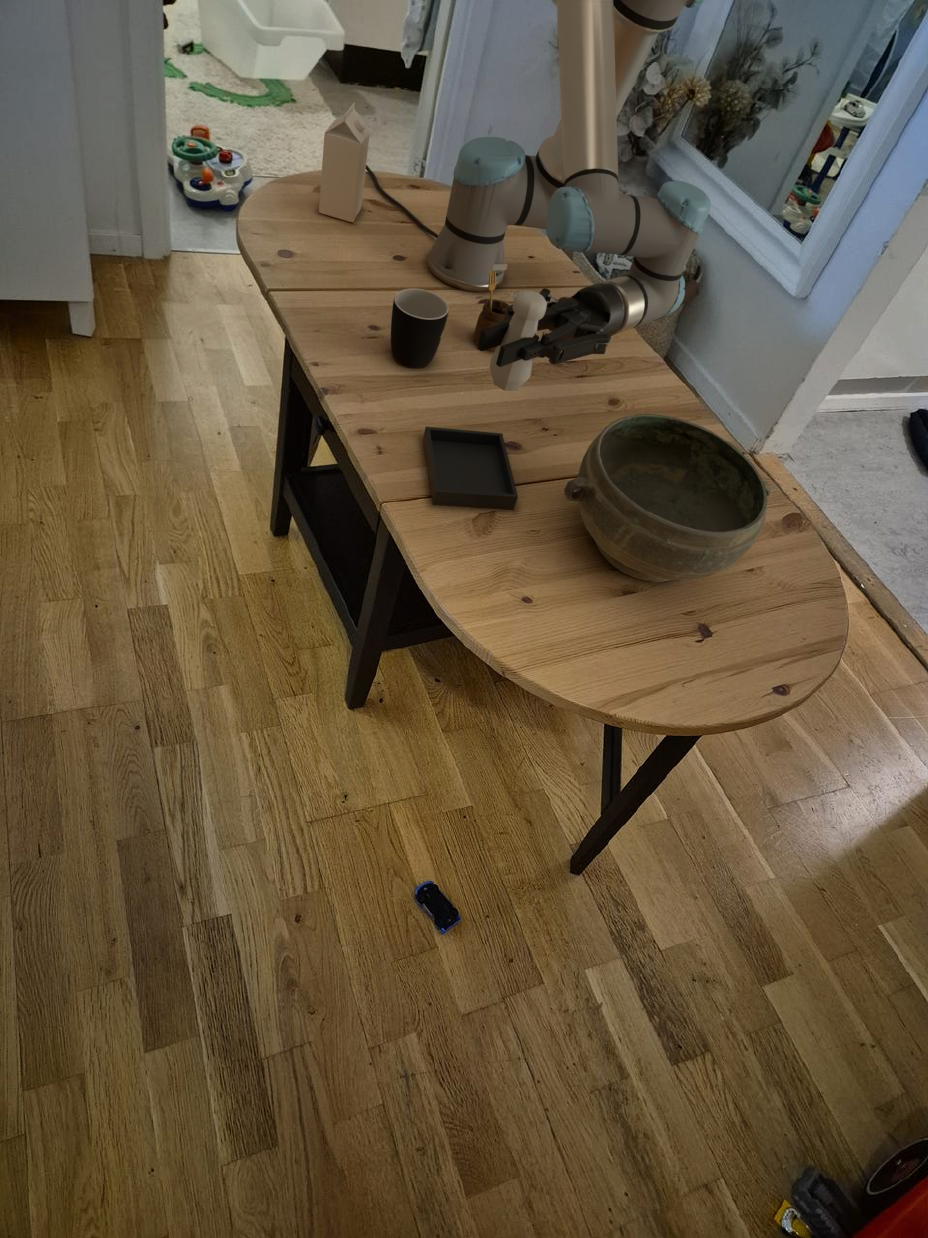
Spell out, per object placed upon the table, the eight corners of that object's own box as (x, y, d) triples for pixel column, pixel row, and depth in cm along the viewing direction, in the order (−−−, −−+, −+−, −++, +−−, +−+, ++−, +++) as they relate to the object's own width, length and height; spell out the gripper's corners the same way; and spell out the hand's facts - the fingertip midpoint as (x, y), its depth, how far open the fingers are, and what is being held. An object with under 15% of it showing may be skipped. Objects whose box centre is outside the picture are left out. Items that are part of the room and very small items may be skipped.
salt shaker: (477, 375, 110) (501, 288, 100) (506, 365, 113) (531, 279, 103) (506, 399, 108) (533, 312, 98) (534, 388, 111) (563, 303, 101)
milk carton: (318, 213, 160) (326, 108, 145) (327, 199, 164) (336, 96, 150) (352, 223, 160) (363, 120, 146) (361, 209, 165) (372, 107, 150)
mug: (442, 374, 135) (455, 320, 127) (391, 372, 132) (400, 317, 124) (426, 333, 141) (437, 279, 134) (377, 330, 138) (385, 275, 131)
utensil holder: (488, 355, 141) (505, 292, 132) (465, 336, 143) (480, 273, 134) (511, 347, 144) (529, 285, 135) (488, 328, 147) (504, 266, 137)
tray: (422, 439, 123) (425, 426, 121) (498, 446, 126) (502, 433, 124) (432, 504, 114) (435, 491, 112) (513, 509, 117) (518, 496, 115)
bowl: (700, 485, 131) (744, 411, 119) (770, 609, 116) (828, 538, 104) (517, 484, 121) (546, 403, 110) (568, 619, 106) (608, 542, 95)
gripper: (636, 362, 115) (525, 408, 102) (558, 304, 121) (444, 340, 108) (656, 315, 109) (542, 357, 97) (574, 256, 115) (456, 289, 102)
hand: (491, 348), depth 102 cm, fingers closed on salt shaker, 3 cm apart
